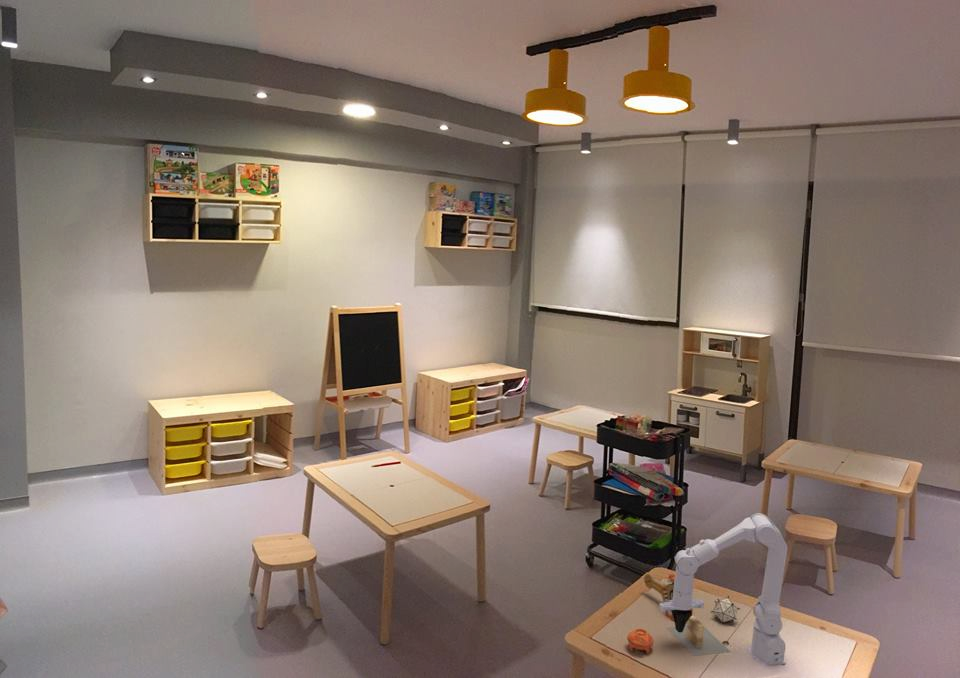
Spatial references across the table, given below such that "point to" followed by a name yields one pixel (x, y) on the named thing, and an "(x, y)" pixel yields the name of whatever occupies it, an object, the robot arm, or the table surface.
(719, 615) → the game die
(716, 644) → the rubber mat
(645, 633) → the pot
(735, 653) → the table surface
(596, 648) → the table surface
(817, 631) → the table surface
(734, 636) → the table surface
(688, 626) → the oak tile
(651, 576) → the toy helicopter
